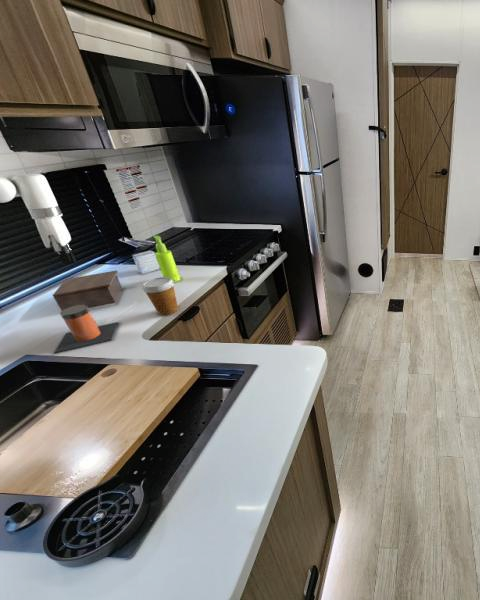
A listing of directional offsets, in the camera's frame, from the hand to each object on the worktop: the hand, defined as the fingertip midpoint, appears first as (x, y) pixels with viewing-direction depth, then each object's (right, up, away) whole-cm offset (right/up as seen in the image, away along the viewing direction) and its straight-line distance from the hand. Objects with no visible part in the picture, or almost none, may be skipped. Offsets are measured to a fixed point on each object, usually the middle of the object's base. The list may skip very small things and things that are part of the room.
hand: (70, 263), depth 121 cm
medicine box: (+1, 0, +37) cm, 37 cm away
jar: (+18, -25, -12) cm, 34 cm away
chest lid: (0, -7, +7) cm, 10 cm away
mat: (+18, -26, -12) cm, 34 cm away
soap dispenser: (+19, -5, +27) cm, 33 cm away
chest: (0, -14, +10) cm, 17 cm away
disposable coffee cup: (+34, -18, +3) cm, 39 cm away
